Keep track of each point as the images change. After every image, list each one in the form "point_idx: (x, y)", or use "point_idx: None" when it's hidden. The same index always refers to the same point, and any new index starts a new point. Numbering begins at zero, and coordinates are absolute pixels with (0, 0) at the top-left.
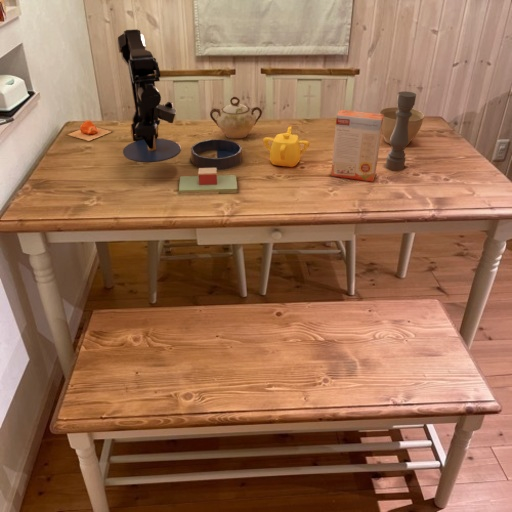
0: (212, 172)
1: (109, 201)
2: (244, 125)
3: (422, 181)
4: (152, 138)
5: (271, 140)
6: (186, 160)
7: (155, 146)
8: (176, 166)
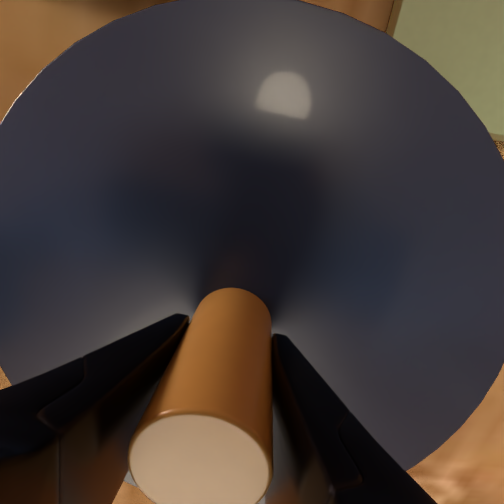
0: None
1: (455, 443)
2: None
3: None
4: (365, 447)
5: None
6: (79, 34)
7: (246, 305)
8: None
